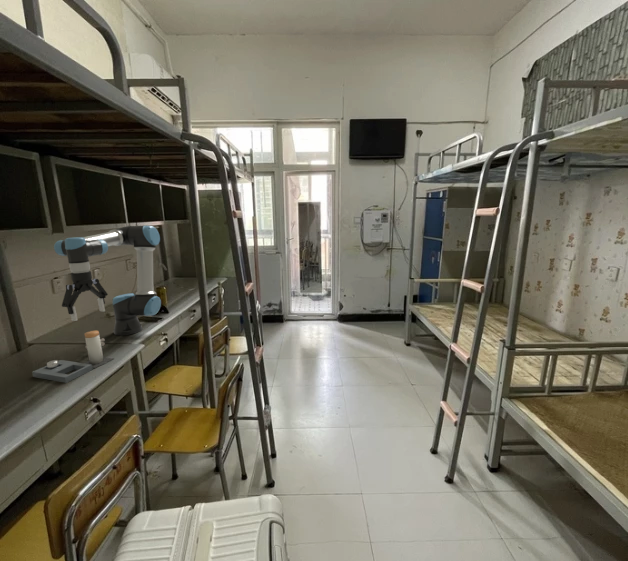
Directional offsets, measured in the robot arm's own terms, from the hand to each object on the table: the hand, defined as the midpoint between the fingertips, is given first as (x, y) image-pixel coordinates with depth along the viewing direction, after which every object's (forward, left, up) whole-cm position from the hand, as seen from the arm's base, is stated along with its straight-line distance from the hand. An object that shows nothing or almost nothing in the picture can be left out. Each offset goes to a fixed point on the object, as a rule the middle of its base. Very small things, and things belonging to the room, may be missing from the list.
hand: (89, 315), depth 147 cm
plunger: (+12, -11, -23) cm, 28 cm away
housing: (+12, -5, -24) cm, 27 cm away
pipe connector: (-9, -11, -24) cm, 28 cm away
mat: (0, 0, -24) cm, 24 cm away
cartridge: (0, 0, -23) cm, 23 cm away
